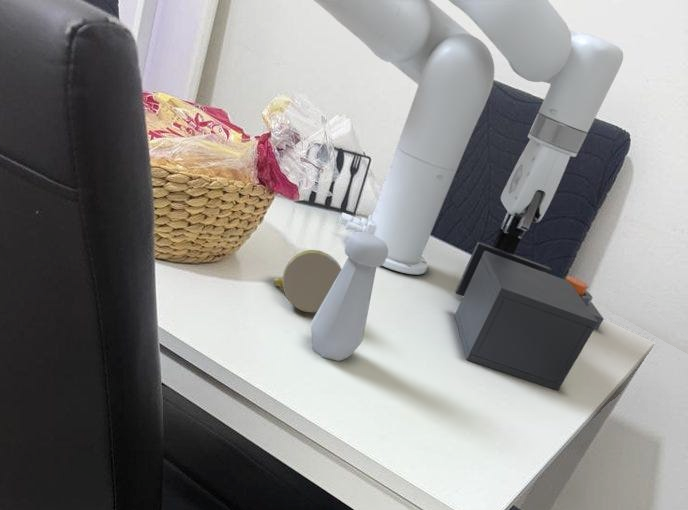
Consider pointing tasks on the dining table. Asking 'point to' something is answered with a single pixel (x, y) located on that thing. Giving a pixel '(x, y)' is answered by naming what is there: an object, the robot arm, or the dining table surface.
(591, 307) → the panel
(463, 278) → the fryer drawer
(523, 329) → the box
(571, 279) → the button
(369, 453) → the dining table surface
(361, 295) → the salt shaker
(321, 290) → the mug
